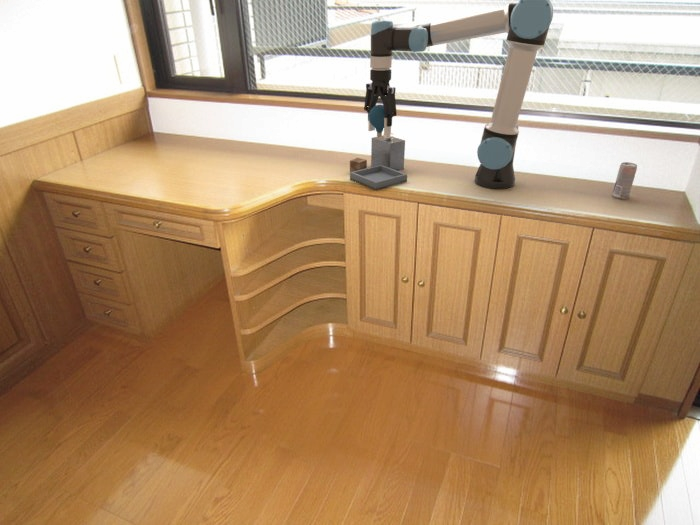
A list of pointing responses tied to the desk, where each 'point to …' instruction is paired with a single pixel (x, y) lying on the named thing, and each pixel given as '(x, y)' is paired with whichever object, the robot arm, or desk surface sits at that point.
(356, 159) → the walnut block
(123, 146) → the desk surface
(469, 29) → the robot arm
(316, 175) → the desk surface
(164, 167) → the desk surface
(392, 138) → the block
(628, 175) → the energy drink
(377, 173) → the tray
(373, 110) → the light bulb
